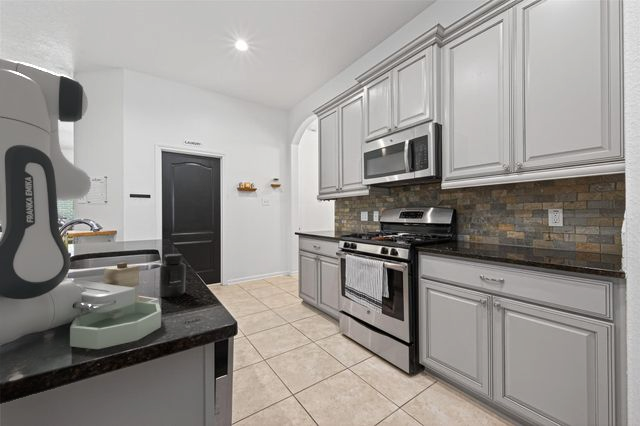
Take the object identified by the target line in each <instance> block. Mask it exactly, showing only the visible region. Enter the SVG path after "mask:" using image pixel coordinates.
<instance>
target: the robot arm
mask: <svg viewBox="0 0 640 426" xmlns="http://www.w3.org/2000/svg"><path fill="white" fill-rule="evenodd" d="M88 105H89V103H88V97H87V93H86V92H85V91H84V87H83V85H81V83H80V82H79V81H78V80H76V79H74V78H73V77H72V78H71V77H69V76H67V75H65V74H61V75H60V74H57V73H55V72H53V71H49V70H47V69H45V68H41V67H38V66H35V65H32V64H29V63H25V62H22V61H14V60H11V59H8V58H7V59H6V58H3V57H0V225H1V236H0V346H1V345H4V344H8V343H10V342H14V341H16V340H18V339H19V338H21V337H23V336H25V335H29V334H32V333H33V334H34V333H41V332H45V331H48V330H51V329H54V328H58V327H60V326H64V325H66V324H67V325H68V324H69V323H73V321H74V319H75V317H76V316H79V315H81V313H82V312H83V311H88V312H93V313H103V312H108V311H112V310H116V309H120V308H123V307H127V306H130V305H132V304H134V303H135V302H136V293H139V294H140V293H141V292H143V289H144V288H143V287H144V286H143V284H141V283H139V284H136V285H132V286H131V287H125V286H118V285H111V284H104V281H98V282H95V281H90V280H79V279H77V280H72V278H70V277H69V276H70V275H69V273H68V272H69V271H70V269H71V268H70V267H71V256H70V252H69V250H68V248H67V246H66V244H65V242H64V240H63V237H62V235H61V232H60V225H59V213H58V212H59V211H58V201H70V200H77V199H78V200H79V199H83V198H84V197H86V195H88V193H89V192H90V189H91V185H92V184H91V183H92V182H91V179H90V176H89V175H88V173H86V172H85V171H84V170H83V169H82V168H80V167H78V166H76V165H75V164H73V163H72V162H70V161H69V159H68V158H67V157H66V156H65V154H64V153H63V152H62V149H61V145H60V135H59V121H60V122H63V123H64V122H65V123H76V122H78V121H80V120H82V119H83V117H84V116H85V113H86V112H87V110H88V107H89V106H88Z"/></svg>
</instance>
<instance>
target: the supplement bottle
mask: <svg viewBox="0 0 640 426" xmlns="http://www.w3.org/2000/svg"><path fill="white" fill-rule="evenodd" d="M182 261H183V254H181V253H168V254H164V256H163V263H162V264H161V266H160V267H159V280H158V281H159V282H158V283H159V284H158V285H159V286H158V295H159V296H160V297H161V298H165V299H166V298H176V297H180V296H182V295H184V293H185V292H186V264H185V263H183V262H182Z"/></svg>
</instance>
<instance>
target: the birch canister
mask: <svg viewBox="0 0 640 426" xmlns="http://www.w3.org/2000/svg"><path fill="white" fill-rule="evenodd" d="M103 273H104V274H103V275H104V276H103V282H104V284H111V285H118V286H125V287H131V286H132V285H136V284H140V266H139V265H132V264H128V262H117V263H116V266H112V267H104V269H103ZM139 296H140V292H139V293H136V301H138V302H139Z"/></svg>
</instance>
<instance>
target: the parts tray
mask: <svg viewBox="0 0 640 426" xmlns="http://www.w3.org/2000/svg"><path fill="white" fill-rule="evenodd" d="M139 302H151V303H159V304H160V299H159V298H157V297H150V296H143V295H139ZM87 312H88V311H83V312H82V313H80V315H82V314H85V313H87ZM123 315H124V311H119V312H116V313H109V318H113V319H114V318H117V317H120V316H123Z"/></svg>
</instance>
